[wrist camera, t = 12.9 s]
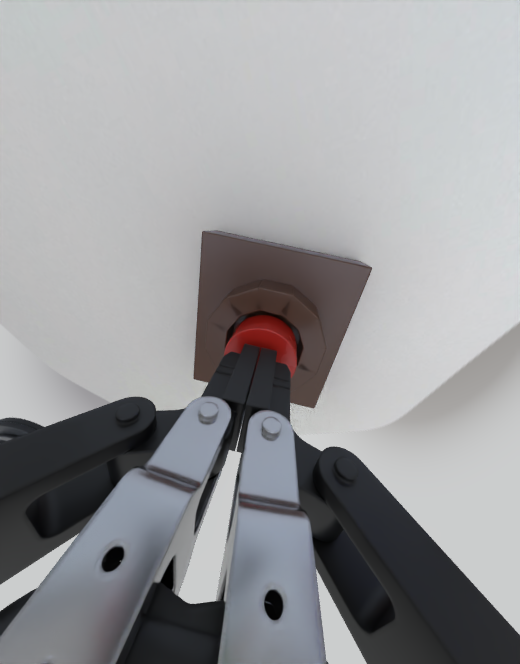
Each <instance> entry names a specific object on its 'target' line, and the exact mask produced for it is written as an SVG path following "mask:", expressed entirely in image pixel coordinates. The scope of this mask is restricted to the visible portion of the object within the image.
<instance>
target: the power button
mask: <svg viewBox="0 0 520 664" xmlns="http://www.w3.org/2000/svg"><path fill="white" fill-rule="evenodd" d="M244 344H249V345H253V346H258V347H260V352H261V348H267V349H271V350H275V351H277V356H276V362H278V363H283V364H286V365H287V366H288V368H289V370H290V372H291V378H292V376H293V375H294V373H295V370H296V367H297V344H296V338H295V335H294V333H293V331H292V330H291V328H290V327H289V326H288V325H287V324H286V323H285V322H283V321H282V320H280V319H278V318H276V317H273V316H268V315H256V316H252V317H249V318H247V319H245V320H244V321H242V322H241V323H240V324H239V325H238V326H237V328H236V329H235V331H234V333H233V335H232V336H231V338H230V340H229V342H228V343H227V345H226V348H225V352H224V356H225V355H226V354H228V353H229V352H235V353H240V354H241V351H242V349H243V347H244ZM260 352H259V356H260ZM258 359H259V357H258ZM257 363H258V361H257ZM256 367H257V366H256Z"/></svg>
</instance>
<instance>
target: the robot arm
mask: <svg viewBox="0 0 520 664" xmlns="http://www.w3.org/2000/svg"><path fill="white" fill-rule="evenodd" d="M259 352H260V347H258V346H253V345H249V344H244V347H243V349H242V351H241V354H240V353H235V352H229V353H228V354H226V355H225V356H223V358H222V360H221V361H220V363H219V366H218V367H217V369H216V371H215V372H214V374H213V376H212V378H211V380H210V382H209V383H208V385H207V387H206V389H205V391H204V393H203V394H202V396H201V397H200V398H197V399H195V400H193V401H192V402H191V403H190V404H189V405H188V406H187V407H186V408H184V409H180V410H168V411H156V408H155V405H154V404H153V402H151V401H150V400H148V399H146V398H143V397H129V398H124V399H121V400H118V401H115V402H113V403H110V404H107V405H104V406H102V407H99V408H96V409H93V410H91V411H88V412H85V413H82V414H80V415H77V416H74V417H72V418H69V419H66V420H63V421H60V422H57V423H55V424H52V425H49V426H46V427H44V428H41V429H38V430H35V431H33V432H30V433H27V434H24V435H22V436H16V435H11V434H0V584H2V583H3V582H5V581H6V580H8V579H9V578H11V577H13V576H14V575H16V574H17V573H19V572H20V571H22V570H23V569H25V568H26V567H28V566H29V565H31V564H32V563H34V562H35V561H37V560H39V559H40V558H42V557H43V556H45V555H46V554H48V553H49V552H51V551H52V550H54V549H55V548H57V547H59V546H60V545H61V544H63V543H65V542H66V541H68V540H69V539H71V538H72V537H74V536H75V535H77V534H78V533H79V535H78V536H77V537H76V539H75V540H74V541H73V542H72V544H71V545H70V547H69V548H68V549H67V551H66V552H65V553H64V554H63V555H62V557H61V558H60V559H59V561H58V562H57V563H56V565H55V566H54V567H53V568H52V570H51V571H50V573H49V574H48V575H47V576H46V578H45V579H44V580H43V582H42V583H41V584H40V586H39V587H38V588H37V589H34V590H33V591H31V592H29V593H28V594H26V595H24V596H23V597H21V598H19V599H18V600H16V601H15V602H13V603H12V604H10V605H9V606H7V607H6V608H4V609H3V610H1V611H0V664H328V662H327V661H326V655H325V647H324V638H323V628H322V620H321V611H320V602H319V594H318V585H317V576H316V569H317V570H318V573H319V574H320V576H321V578H322V580H323V582H324V584H325V586H326V588H327V589H328V591H329V593H330V595H331V597H332V599H333V601H334V603H335V604H336V606H337V608H338V610H339V612H340V614H341V616H342V618H343V619H344V621H345V623H346V625H347V627H348V629H349V631H350V633H351V634H352V636H353V638H354V640H355V642H356V644H357V646H358V648H359V649H360V651H361V653H362V655H363V657H364V659H365V661H366V662H367V664H520V635H519V634H518V633H517V632H516V631H515V630H514V628H513V627H512V626H511V625H510V624H509V623H508V622H507V621H506V620H505V619H504V618H503V616H502V615H501V614H500V613H499V612H498V611H497V610H496V609H495V608H494V607H493V605H492V604H491V603H490V602H489V601H488V600H487V599H486V598H485V597H484V595H483V594H482V593H481V592H480V591H479V590H478V589H477V588H476V587H475V586H474V584H473V583H472V582H471V581H470V580H469V579H468V578H467V577H466V576H465V575H464V573H463V572H462V571H461V570H460V569H459V568H458V567H457V566H456V565H455V564H454V563H453V561H452V560H451V559H450V558H449V557H448V556H447V555H446V554H445V553H444V552H443V550H442V549H441V548H440V547H439V546H438V545H437V544H436V543H435V542H434V540H432V538H431V537H430V536H429V535H428V534H427V533H426V532H425V531H424V530H423V528H422V527H421V526H420V525H419V524H418V523H417V522H416V521H415V520H414V519H413V517H412V516H411V515H410V514H409V513H408V512H407V511H406V510H405V509H404V508H403V506H402V505H401V504H400V503H399V502H398V501H397V500H396V499H395V498H394V497H393V496H392V494H391V493H390V492H389V491H388V490H387V489H386V488H385V487H384V486H383V484H382V483H381V482H380V481H379V480H378V479H377V478H376V477H375V476H374V475H373V473H372V472H371V471H370V470H369V469H368V468H367V467H366V466H365V465H364V464H363V462H361V460H360V459H359V458H357V456H355V455H354V454H353V453H351V452H350V451H348V450H346V449H343V448H340V447H329V448H326V449H324V450H323V451H320V450H318V449H316V448H315V447H313V446H311V445H309V444H308V443H306V442H305V441H303V440H302V439H301V438H299V436H298V435H297V434H296V433H295V432H294V430H293V428H292V425H291V423H290V386H291V383H290V381H291V372H290V370H289V368H288V366H287V365H286V364H283V363H278V362H276V356H277V351H275V350H271V349H267V348H261V352H260V356H259ZM258 357H259V359H258ZM257 361H258V363H257ZM256 366H257V367H256ZM243 418H244V419H243ZM242 422H243V423H242ZM241 426H242V428H241ZM240 429H241V433H240ZM239 433H240V438H239V442H238V447H237V452H241V453H242V454H241V458H240V463H239V467H238V472H237V476H236V482H235V489H234V495H233V501H232V507H231V514H230V520H229V527H228V533H227V539H226V545H225V551H224V557H223V562H222V567H221V573H220V579H219V585H218V591H217V597H216V601H215V602H207V603H200V604H189V603H186V602H185V601H183V600H182V599H181V598H180V597H178V594H179V591H180V588H181V585H182V583H183V580H184V577H185V574H186V572H187V568H188V566H189V562H190V559H191V556H192V552H193V548H194V545H195V542H196V539H197V536H198V533H199V531H200V528H201V525H202V523H203V520H204V517H205V515H206V512H207V509H208V507H209V504H210V501H211V498H212V496H213V493H214V491H215V488H216V485H217V482H218V480H219V477H220V475H221V471H222V468H223V466H224V464H225V461H226V458H227V454H228V451H229V450H232V451H235V448H236V445H237V441H238V437H239Z"/></svg>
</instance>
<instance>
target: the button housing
mask: <svg viewBox="0 0 520 664" xmlns="http://www.w3.org/2000/svg"><path fill="white" fill-rule="evenodd" d="M371 270H372V267H370V266H368V265H366V264H364V263H362V262H360V261H356V260H351V259H347V258H342V257H337V256H333V255H328V254H323V253H319V252H314V251H309V250H305V249H300V248H295V247H291V246H286V245H281V244H277V243H272V242H267V241H263V240H258V239H253V238H249V237H244V236H239V235H235V234H230V233H225V232H221V231H203V232H202V245H201V262H200V279H199V295H198V312H197V329H196V346H195V363H194V379H196V380H200V381H204V382H208V383H209V382H210V380H211V378H212V376H213V374H214V372H215V371H216V369H217V367H218V366H219V363H220V361H221V360H222V358H223V356H224V352H225V348H226V345H227V343H228V342H229V340H230V338H231V336H232V335H233V333H234V331H235V329H236V328H237V326H238V325H239V324H240V323H241V322H242V321H244V320H245V319H247V318H249V317H252V316H256V315H268V316H273V317H276V318H278V319H280V320H282V321H283V322H285V323H286V324H287V325H288V326H289V327H290V328H291V330H292V331H293V333H294V335H295V338H296V344H297V367H296V370H295V373H294V375H293V376H292V378H291V381H290V383H291V386H290V403H294V404H298V405H302V406H306V407H310V408H315V405H316V403H317V400H318V398H319V396H320V393H321V391H322V388H323V386H324V384H325V381H326V379H327V376H328V374H329V372H330V369H331V367H332V364H333V362H334V359H335V357H336V355H337V352H338V350H339V347H340V345H341V343H342V340H343V338H344V335H345V333H346V330H347V328H348V326H349V323H350V321H351V318H352V316H353V314H354V311H355V309H356V306H357V304H358V301H359V299H360V297H361V294H362V292H363V289H364V287H365V285H366V282H367V280H368V277H369V275H370V272H371Z"/></svg>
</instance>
